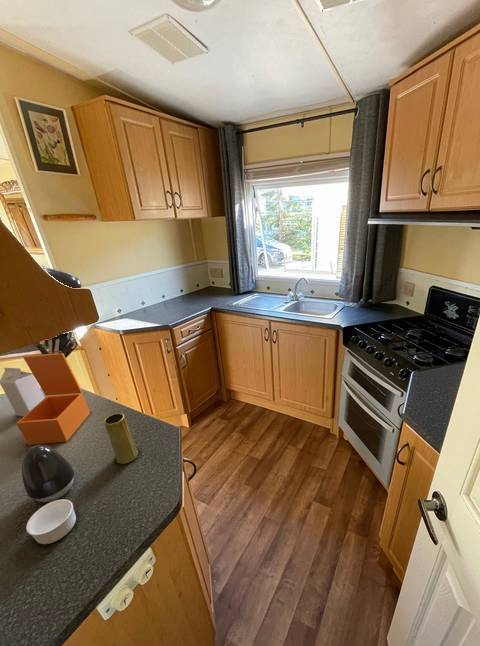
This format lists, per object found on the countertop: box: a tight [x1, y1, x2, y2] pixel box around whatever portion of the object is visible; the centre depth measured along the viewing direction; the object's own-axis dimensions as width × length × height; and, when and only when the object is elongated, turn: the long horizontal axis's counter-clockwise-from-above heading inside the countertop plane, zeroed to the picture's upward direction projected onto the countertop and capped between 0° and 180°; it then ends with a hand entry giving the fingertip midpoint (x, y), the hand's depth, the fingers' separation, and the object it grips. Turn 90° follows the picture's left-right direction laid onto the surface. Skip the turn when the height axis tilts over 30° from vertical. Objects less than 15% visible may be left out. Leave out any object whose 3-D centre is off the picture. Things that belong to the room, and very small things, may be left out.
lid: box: [22, 353, 83, 397], centre depth 101 cm, size 16×13×1 cm
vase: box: [103, 412, 139, 465], centre depth 84 cm, size 6×6×14 cm
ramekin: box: [25, 498, 77, 545], centre depth 67 cm, size 9×9×4 cm
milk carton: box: [0, 366, 45, 417], centre depth 108 cm, size 7×7×19 cm
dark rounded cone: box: [21, 444, 75, 503], centre depth 74 cm, size 10×10×15 cm
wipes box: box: [15, 393, 91, 446], centre depth 100 cm, size 16×13×9 cm
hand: (53, 369), depth 100 cm, fingers closed
